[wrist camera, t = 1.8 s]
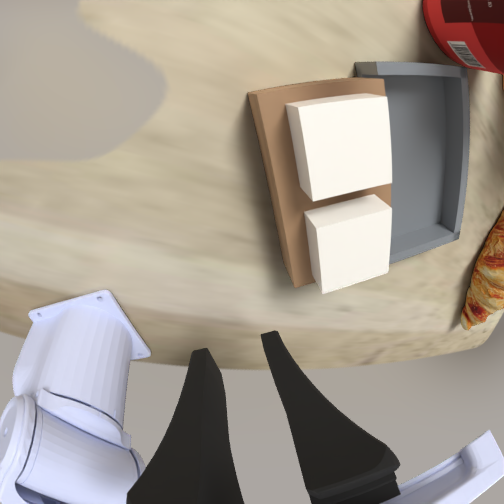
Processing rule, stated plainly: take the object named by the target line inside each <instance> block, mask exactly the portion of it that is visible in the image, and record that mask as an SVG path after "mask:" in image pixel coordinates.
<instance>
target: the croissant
mask: <svg viewBox="0 0 504 504" xmlns="http://www.w3.org/2000/svg"><path fill="white" fill-rule="evenodd" d="M470 285H471V286H470V287H469V289H468V292H467V296H466V305H465V306H464V308H463V310H462V314H461V325H462V327H463V328H464V329H465V330H469V329H470V328H471V326H475V325H477V324H480V323H483V322H485V321H486V318H487V316H488V315H490V314H493V313H494V312H495V311H497V310H501V309H503V308H504V210H503V211H502V213H501V217H500V218H499V219H498V222H497V223H496V225H495V226H494V227H493V229H492V230H491V232H490V234H489V236H488V238H487V240H486V242H485V245H484V248H483V249H482V251H481V253H480V255H479V257H478V259H477V261H476V264H475V267H474V271H473V274H472V278H471V284H470Z"/></svg>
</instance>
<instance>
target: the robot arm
mask: <svg viewBox="0 0 504 504" xmlns="http://www.w3.org/2000/svg"><path fill="white" fill-rule="evenodd" d="M100 297H102V298H100ZM28 315H29V317H30V319H31V320H32V321H33V324H32V327H31V329H30V331H29V333H28V336H27V338H26V340H25V343H24V345H23V347H22V350H21V353H20V355H19V357H18V360H17V362H16V365H15V368H14V372H13V389H14V394H15V397H13V398H12V399H11V400H10V401H9V402H8V404H7V406H6V408H5V409H4V411H3V413H2V416H1V418H0V502H1V503H2V504H244V501H243V498H242V495H241V491H240V487H239V483H238V480H237V476H236V472H235V467H234V463H233V458H232V453H231V448H230V442H229V434H228V420H227V408H226V396H225V390H224V384H223V379H222V374H221V372H220V370H219V368H218V366H217V365H216V363H215V361H214V359H213V358H212V356H211V354H210V352H209V350H208V349H207V348H204V349H200V350H195V351H193V352H192V354H191V359H190V363H189V368H188V372H187V375H186V379H185V383H184V386H183V389H182V392H181V396H180V398H179V402H178V404H177V407H176V409H175V412H174V415H173V418H172V420H171V422H170V425H169V427H168V429H167V431H166V434H165V436H164V438H163V440H162V441H161V443H160V445H159V447H158V449H157V451H156V453H155V455H154V456H153V458H152V459H151V461H150V462H149V464H148V465H147V467H145V464H144V462H143V460H142V458H141V456H140V455H139V453H138V452H137V451H136V450H134V449H133V448H131V435H129V434H127V433H126V432H124V431H123V421H124V409H125V399H126V390H127V389H126V388H127V380H128V373H129V365H130V360H134V359H140V358H145V357H149V356H150V355H151V351H150V349H149V348H148V347H147V345H146V344H145V342H144V341H143V340H142V338H141V337H140V335H139V334H138V333H137V331H136V330H135V328H134V327H133V325H132V324H131V322H130V321H129V319H128V318H127V316H126V315H125V313H124V312H123V310H122V309H121V307H120V306H119V304H118V303H117V301H116V299H115V298H114V296H113V295H112V293H111V292H110V291H108V290H101V291H98V292H94V293H91V294H87V295H84V296H80V297H76V298H73V299H69V300H66V301H62V302H59V303H55V304H51V305H48V306H44V307H41V308H37V309H34V310H31V311H30V312H29V314H28ZM261 339H262V343H263V348H264V351H265V354H266V357H267V361H268V364H269V367H270V370H271V373H272V376H273V379H274V381H275V385H276V387H277V390H278V392H279V395H280V398H281V401H282V403H283V406H284V409H285V411H286V414H287V418H288V421H289V425H290V429H291V433H292V436H293V441H294V444H295V448H296V452H297V456H298V459H299V464H300V467H301V471H302V475H303V479H304V483H305V487H306V489H307V492H308V494H309V496H310V500H311V503H312V504H469V503H470V502H472V501H473V500H474V499H476V498H477V497H478V496H479V495H481V494H482V493H483V492H484V491H486V490H487V489H488V488H489V487H491V486H492V485H493V484H494V483H496V482H497V481H498V480H499V479H500V478H501V477H503V476H504V457H503V456H502V453H501V451H500V449H499V447H498V445H497V443H496V441H495V439H494V437H493V435H492V434H491V431H490V430H487V431H486V432H485V433H483V434H482V435H480V436H479V437H478V438H476V439H475V440H474V441H472V442H471V443H469V444H468V445H467V446H465V447H464V448H462V449H461V450H460V451H459V452H458V453H456V454H455V455H453V456H451V457H450V458H448V459H447V460H445V461H443V462H442V463H440V464H438V465H436V466H435V467H433V468H431V469H429V470H428V471H426V472H424V473H422V474H420V475H418V476H417V477H414V478H412V479H410V480H408V481H406V482H404V483H402V484H400V485H397V483H396V475H395V473H394V471H395V470H397V468H399V466H400V462H399V460H398V459H397V457H396V456H395V454H394V453H393V452H392V451H391V450H390V448H389V447H387V445H386V444H384V443H383V442H381V441H380V440H378V439H376V438H375V437H373V436H372V435H370V434H369V433H367V432H366V431H365V430H363V429H362V428H360V427H359V426H357V425H356V424H355V423H354V422H352V421H351V420H350V419H349V418H348V417H346V416H345V415H344V414H343V413H341V412H340V411H339V410H338V409H337V408H336V407H335V406H334V405H333V404H332V403H331V402H329V401H328V400H327V399H326V398H325V397H324V396H323V395H322V393H320V391H319V390H318V389H317V388H316V387H315V386H314V385H313V384H312V382H311V381H310V380H309V379H308V378H307V377H306V375H305V374H304V373H303V372H302V370H301V369H300V368H299V366H298V365H297V364H296V362H295V361H294V359H293V358H292V356H291V355H290V353H289V352H288V350H287V349H286V347H285V345H284V343H283V341H282V339H281V337H280V335H279V333H278V331H272V332H268V333H264V334H261Z"/></svg>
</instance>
